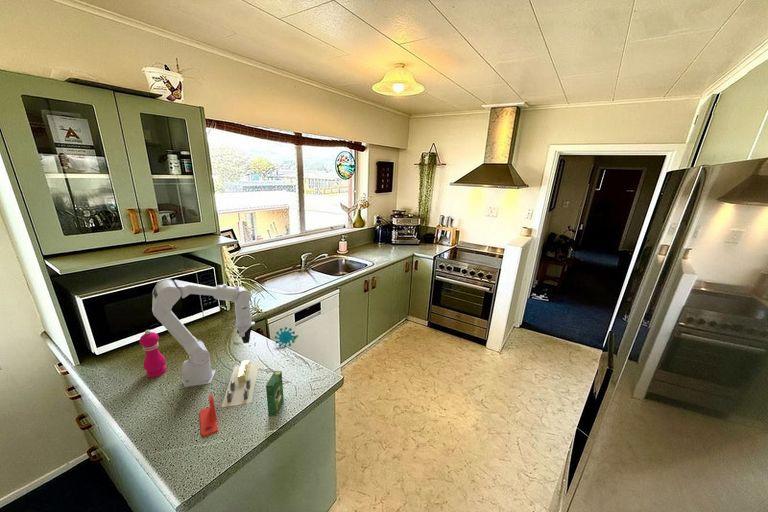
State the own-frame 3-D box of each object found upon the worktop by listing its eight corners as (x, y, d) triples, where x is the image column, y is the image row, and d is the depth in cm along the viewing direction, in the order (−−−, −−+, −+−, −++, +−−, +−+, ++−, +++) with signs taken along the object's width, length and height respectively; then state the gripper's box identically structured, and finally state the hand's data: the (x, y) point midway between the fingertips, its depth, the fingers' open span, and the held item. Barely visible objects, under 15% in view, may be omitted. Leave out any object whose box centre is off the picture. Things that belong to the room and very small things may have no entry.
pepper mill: (171, 370, 122) (162, 328, 116) (152, 380, 116) (141, 337, 110) (161, 364, 125) (152, 323, 119) (141, 374, 118) (131, 332, 112)
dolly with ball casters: (227, 402, 106) (226, 394, 105) (232, 386, 114) (231, 379, 113) (247, 399, 108) (246, 391, 107) (250, 384, 115) (250, 377, 114)
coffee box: (276, 398, 109) (274, 369, 106) (284, 399, 109) (282, 370, 106) (267, 416, 102) (264, 385, 98) (275, 416, 102) (273, 386, 98)
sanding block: (238, 383, 116) (237, 376, 115) (243, 367, 125) (242, 360, 124) (246, 382, 116) (245, 375, 115) (250, 366, 125) (249, 359, 125)
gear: (273, 347, 137) (275, 326, 141) (273, 350, 142) (275, 329, 146) (297, 346, 140) (298, 326, 145) (296, 349, 145) (297, 329, 150)
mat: (221, 408, 104) (221, 407, 104) (234, 366, 125) (234, 366, 125) (251, 403, 107) (251, 402, 107) (259, 363, 128) (259, 362, 128)
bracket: (200, 413, 102) (196, 394, 100) (214, 407, 104) (211, 389, 102) (202, 439, 93) (198, 419, 90) (218, 432, 95) (215, 413, 93)
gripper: (250, 322, 117) (253, 350, 121) (255, 306, 131) (258, 332, 135) (231, 324, 116) (235, 353, 120) (238, 307, 129) (242, 334, 133)
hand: (246, 342), depth 127 cm, fingers closed
